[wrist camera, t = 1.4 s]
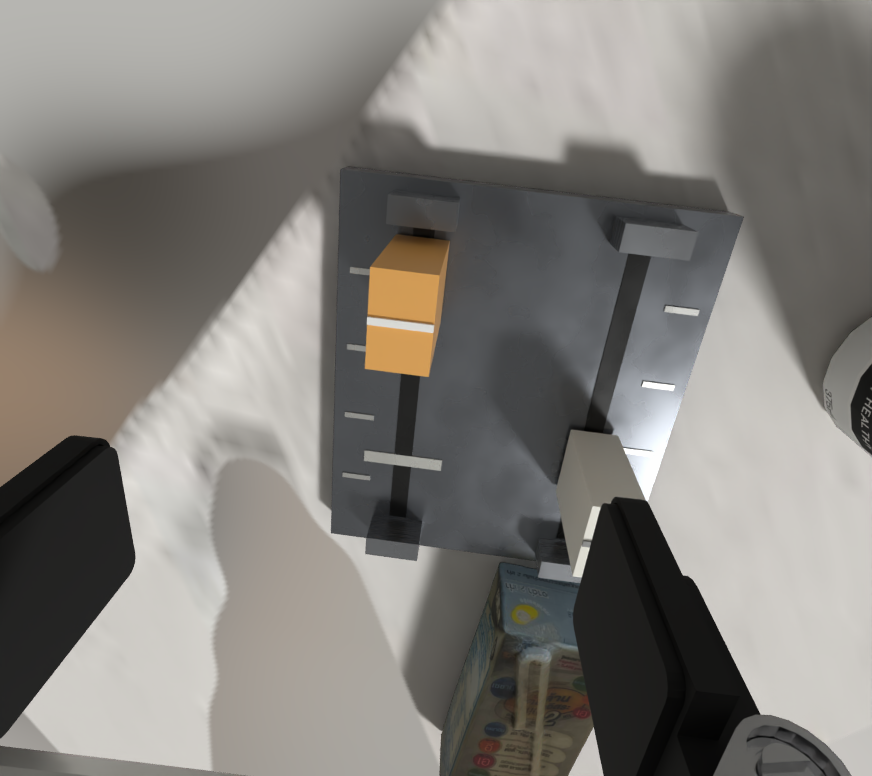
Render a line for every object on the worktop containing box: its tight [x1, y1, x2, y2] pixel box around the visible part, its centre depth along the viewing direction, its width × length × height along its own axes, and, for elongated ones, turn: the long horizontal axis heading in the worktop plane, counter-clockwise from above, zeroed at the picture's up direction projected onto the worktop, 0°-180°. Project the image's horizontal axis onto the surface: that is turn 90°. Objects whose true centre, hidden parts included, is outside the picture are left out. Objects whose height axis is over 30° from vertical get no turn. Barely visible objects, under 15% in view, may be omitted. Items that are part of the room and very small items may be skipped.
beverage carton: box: [440, 563, 594, 776], centre depth 37 cm, size 8×19×7 cm, turn 168°
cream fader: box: [556, 430, 646, 578], centre depth 27 cm, size 4×2×7 cm, turn 174°
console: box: [331, 167, 744, 583], centre depth 29 cm, size 21×18×4 cm
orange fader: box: [365, 234, 450, 377], centre depth 23 cm, size 4×2×7 cm, turn 174°
